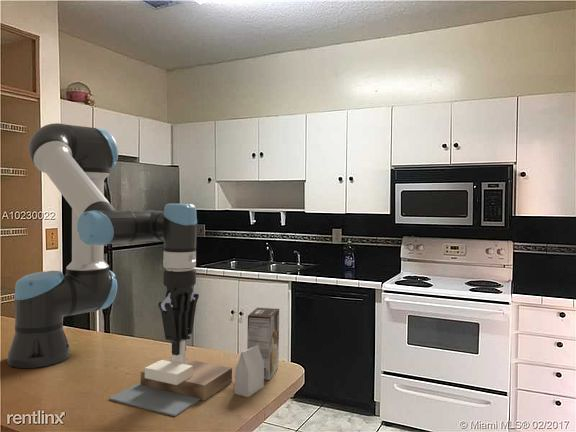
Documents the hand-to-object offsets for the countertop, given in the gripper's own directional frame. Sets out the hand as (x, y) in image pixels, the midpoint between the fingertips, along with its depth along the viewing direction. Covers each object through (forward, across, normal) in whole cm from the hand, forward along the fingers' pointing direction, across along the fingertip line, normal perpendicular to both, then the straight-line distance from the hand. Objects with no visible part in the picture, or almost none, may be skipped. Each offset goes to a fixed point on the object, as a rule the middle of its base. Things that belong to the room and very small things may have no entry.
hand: (178, 366), depth 113 cm
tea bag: (+5, +6, -16) cm, 18 cm away
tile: (+1, -4, 0) cm, 4 cm away
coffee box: (+5, +17, -14) cm, 23 cm away
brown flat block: (+5, +2, -1) cm, 5 cm away
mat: (+5, -9, 0) cm, 10 cm away
